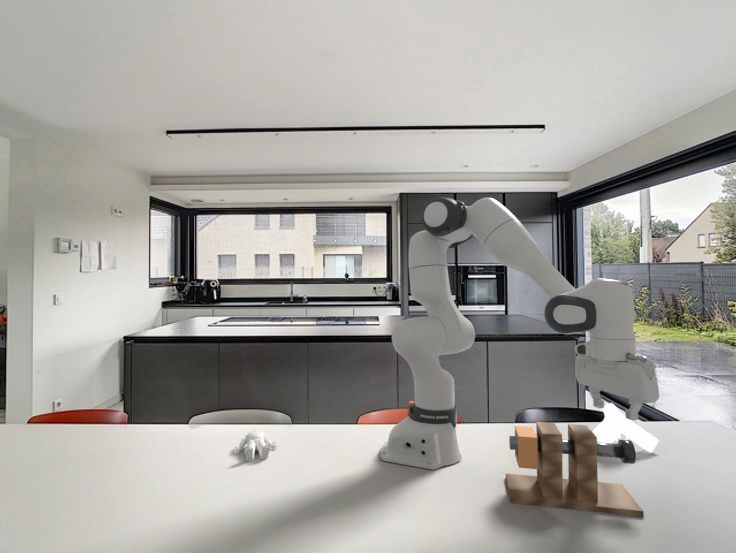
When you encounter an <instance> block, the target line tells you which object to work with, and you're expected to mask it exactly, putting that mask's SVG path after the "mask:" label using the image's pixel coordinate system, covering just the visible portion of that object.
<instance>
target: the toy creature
mask: <svg viewBox="0 0 736 553" xmlns="http://www.w3.org/2000/svg"><path fill="white" fill-rule="evenodd" d="M246 445H247V446H246ZM245 446H246V447H245ZM244 447H245V448H244ZM277 447H278V445H277V443H276V442H272V441H271V438H270V437H269V436H268V435H266V434H265V433H264V432H262V431H261V430H257V429H253V430H252V431H250V432H249V433H247V434H246V435H245V436H244V437H243V438H242V439H241V441H240V442H239V445H238V446H235V447H234V448H235V450H234V451H233V452H234V454H235V455H236V454H237V456H238V455H239V454H240V453H241V450H242V449H243V448H244V450H243V451H244V452H243V453H244V455H245V459H246V461H247V462H248V463H249V462H254V459H255V452H256V453H259V458H260V460H261V461H266V460H267V459H268V457H269V453H270V451H271V449H272V451H275V450H277Z"/></svg>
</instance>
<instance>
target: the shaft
mask: <svg viewBox="0 0 736 553" xmlns="http://www.w3.org/2000/svg"><path fill="white" fill-rule="evenodd" d="M508 437H509V438H508V441H509V442H508V443H509V445H508V446H509V450H513V451H515V450H518V439H517V436H515V435H509V436H508ZM537 445H538V452H541V438H537ZM568 454H572V455H575V441H574V440H568V439H562V455H568ZM636 456H637V454H636V448H635V445H634V442H633V441H632V440H631V439H627V440H625V439H618V442H617V443H614V442H613V443H601V442H597V458H599V457H601V458H611V459H619V461H620V462H621V463H622V464H629V465H630V464H631V465H633V464H634V465H635V463H636V460H637V458H636Z"/></svg>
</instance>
